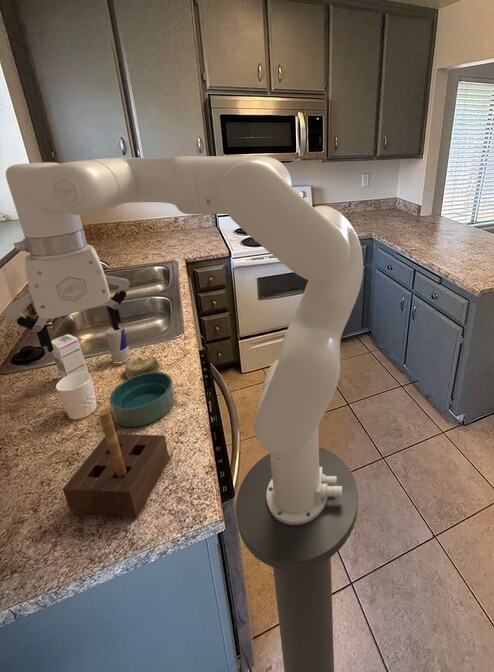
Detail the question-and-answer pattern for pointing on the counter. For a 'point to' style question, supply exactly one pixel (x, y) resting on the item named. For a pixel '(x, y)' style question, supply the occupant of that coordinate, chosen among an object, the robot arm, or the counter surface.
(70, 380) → the white cup
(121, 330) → the energy drink
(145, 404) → the bowl
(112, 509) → the holder
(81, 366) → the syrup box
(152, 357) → the tan textured clump
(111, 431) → the stick
